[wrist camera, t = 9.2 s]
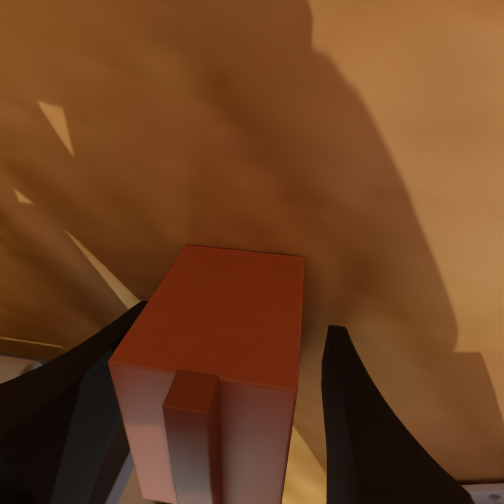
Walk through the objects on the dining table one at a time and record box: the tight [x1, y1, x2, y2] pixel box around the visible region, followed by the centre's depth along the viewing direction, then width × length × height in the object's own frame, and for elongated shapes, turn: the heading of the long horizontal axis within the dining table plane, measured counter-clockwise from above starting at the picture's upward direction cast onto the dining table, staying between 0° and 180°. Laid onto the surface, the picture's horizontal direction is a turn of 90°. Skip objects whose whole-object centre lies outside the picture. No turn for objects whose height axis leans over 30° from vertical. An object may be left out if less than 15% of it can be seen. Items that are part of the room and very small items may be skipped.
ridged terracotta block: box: [108, 245, 305, 504], centre depth 12 cm, size 7×5×7 cm
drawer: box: [0, 353, 169, 504], centre depth 17 cm, size 17×12×6 cm
